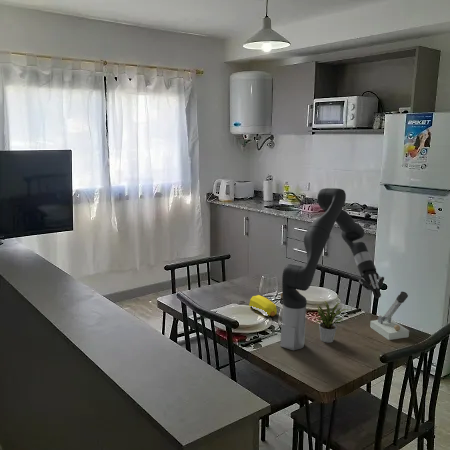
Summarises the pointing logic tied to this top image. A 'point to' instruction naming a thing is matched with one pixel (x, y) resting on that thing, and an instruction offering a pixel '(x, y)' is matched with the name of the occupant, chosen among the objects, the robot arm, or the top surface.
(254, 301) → the yellow curved elongated piece
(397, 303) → the press lever
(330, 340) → the house plant
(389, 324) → the press base
